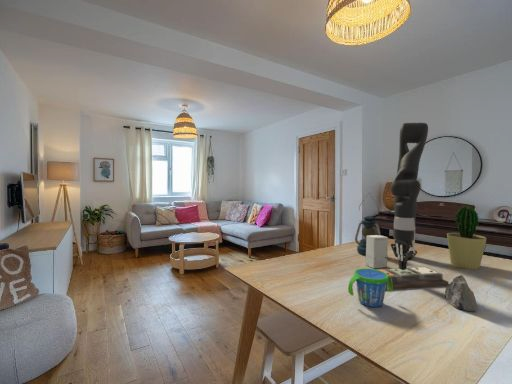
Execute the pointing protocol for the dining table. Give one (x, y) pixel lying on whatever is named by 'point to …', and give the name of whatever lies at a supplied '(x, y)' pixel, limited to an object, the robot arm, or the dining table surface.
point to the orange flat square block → (386, 272)
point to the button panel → (416, 279)
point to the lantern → (366, 232)
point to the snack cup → (371, 286)
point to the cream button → (424, 270)
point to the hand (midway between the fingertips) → (402, 269)
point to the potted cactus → (466, 240)
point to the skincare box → (376, 251)
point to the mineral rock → (461, 294)
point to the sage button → (403, 272)
